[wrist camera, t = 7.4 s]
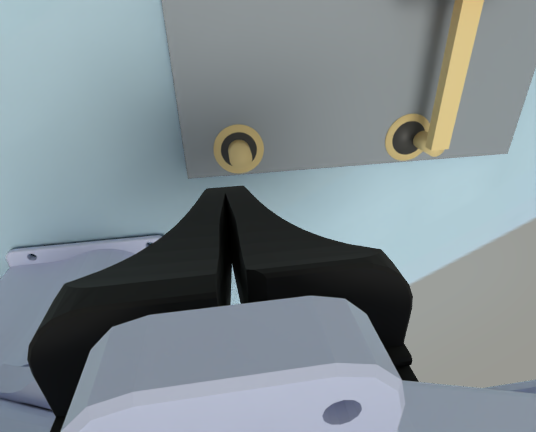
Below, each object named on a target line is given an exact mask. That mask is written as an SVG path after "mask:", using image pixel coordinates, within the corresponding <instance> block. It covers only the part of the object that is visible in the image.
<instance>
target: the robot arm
mask: <svg viewBox="0 0 536 432" xmlns="http://www.w3.org/2000/svg"><path fill="white" fill-rule="evenodd" d="M148 242H152V244H151V245H148V244H147V243H148ZM31 254H34V255H36V257H33V256H31ZM6 260H7V262H8V265H9V267H10V268H9V269H8V271H7V272H6V273H5V274H4V275H3V277H2V278H1V279H0V432H536V380H530V381H524V382H518V383H512V384H505V385H499V386H493V387H487V388H474V387H464V386H454V385H444V384H434V383H425V382H419V381H418V380H417V378H416V376H415V375H414V373H413V371H412V370H411V368H410V366H409V365H411V363H412V358H411V354H410V353H409V351H408V349H407V348H406V346H405V344H404V339H405V335H406V331H407V327H408V323H409V318H410V314H411V310H412V298H413V296H412V293H411V289H410V286H409V284H408V283H407V281H406V280H405V279H404V277H403V276H402V275H401V273H400V272H399V270H398V269H397V268H396V266H395V265H394V264H393V262H392V261H391V260H390V259H389V258H388V257H387V255H386V254H385V253H384V252H383V251H382V250H381V249H375V248H369V247H363V246H357V245H351V244H346V243H342V242H338V241H335V240H331V239H327V238H324V237H321V236H318V235H316V234H313V233H310V232H308V231H305V230H303V229H301V228H299V227H297V226H295V225H293V224H291V223H289V222H287V221H285V220H284V219H282V218H280V217H279V216H277V215H276V214H275V213H273V212H272V211H270V210H269V209H268V208H266V207H265V206H264V205H263V204H262V203H261V202H259V201H258V200H257V199H256V198H255V197H254V196H253V195H252V194H251V193H250V192H249V191H248V190H247V189H246V188H245V187H244V186H233V187H221V188H208V189H206V190H205V191H204V192H203V193H202V195H201V196H200V198H199V199H198V201H197V202H196V203H195V205H194V206H193V207H192V208H191V209H190V211H189V212H188V213H187V214H186V215H185V217H184V218H183V219H182V220H181V221H180V222H179V223H178V224H177V225H176V226H175V227H173V228H172V229H171V230H170V231H169V232H168V233H166V234H165V235H164V236H161V235H155V236H144V237H134V238H123V239H113V240H102V241H92V242H81V243H71V244H61V245H50V246H40V247H29V248H19V249H12V250H10V251H9V252H8V253H7V254H6ZM232 265H233V270H234V275H235V279H236V284H237V289H238V293H239V298H240V303H241V304H236V305H230V302H231V273H232Z"/></svg>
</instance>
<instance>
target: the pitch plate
mask: <svg viewBox="0 0 536 432" xmlns="http://www.w3.org/2000/svg"><path fill="white" fill-rule="evenodd" d="M454 2H455V0H162V7H163V14H164V21H165V27H166V34H167V41H168V47H169V54H170V61H171V68H172V74H173V81H174V88H175V95H176V101H177V108H178V115H179V122H180V128H181V135H182V142H183V149H184V155H185V162H186V169H187V175H188V179H189V178H202V177H214V176H227V175H240V174H253V173H265V172H278V171H291V170H304V169H316V168H329V167H342V166H355V165H367V164H380V163H393V162H406V161H418V160H431V159H444V158H457V157H469V156H482V155H495V154H508V150H509V147H510V144H511V141H512V138H513V135H514V132H515V129H516V126H517V123H518V120H519V117H520V114H521V111H522V108H523V104H524V101H525V98H526V95H527V92H528V89H529V86H530V83H531V80H532V77H533V74H534V71H535V68H536V0H484V3H483V7H482V11H481V15H480V20H479V24H478V28H477V32H476V36H475V41H474V45H473V49H472V53H471V57H470V62H469V66H468V70H467V74H466V78H465V83H464V87H463V91H462V95H461V99H460V104H459V108H458V112H457V116H456V120H455V125H454V129H453V133H452V137H451V141H450V146H449V149H445V150H444V151H443V153H442V154H441V155H439V156H437V157H432V156H430V155H428V154H427V153H425V152H423V151H422V150H420V149H418V148H417V147H415V146H414V144H413V139H414V136H415V135H416V134H417V133H418V132H420V131H426V132H428V130H429V125H430V121H431V116H432V111H433V106H434V101H435V96H436V91H437V86H438V81H439V76H440V71H441V66H442V61H443V57H444V52H445V47H446V42H447V37H448V32H449V27H450V22H451V17H452V12H453V7H454Z"/></svg>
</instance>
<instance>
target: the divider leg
mask: <svg viewBox="0 0 536 432" xmlns="http://www.w3.org/2000/svg"><path fill="white" fill-rule="evenodd" d="M483 3H484V0H455V2H454V7H453V12H452V17H451V22H450V27H449V32H448V37H447V42H446V47H445V52H444V57H443V61H442V66H441V71H440V76H439V81H438V86H437V91H436V96H435V101H434V106H433V111H432V116H431V121H430V125H429V130H428V132H426V131H420V132H418V133H417V134H416V135H415V136H414V139H413V144H414V146H415V147H417V148H418V149H420V150H422V151H423V152H425V153H427V154H428V155H430V156H432V157H437V156H439V155H441V154H442V153H443V151H444V150H445V149H449V146H450V141H451V137H452V133H453V129H454V125H455V120H456V116H457V112H458V108H459V104H460V99H461V95H462V91H463V87H464V83H465V78H466V74H467V70H468V66H469V62H470V57H471V53H472V49H473V45H474V41H475V36H476V32H477V28H478V24H479V20H480V15H481V11H482V7H483Z"/></svg>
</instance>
